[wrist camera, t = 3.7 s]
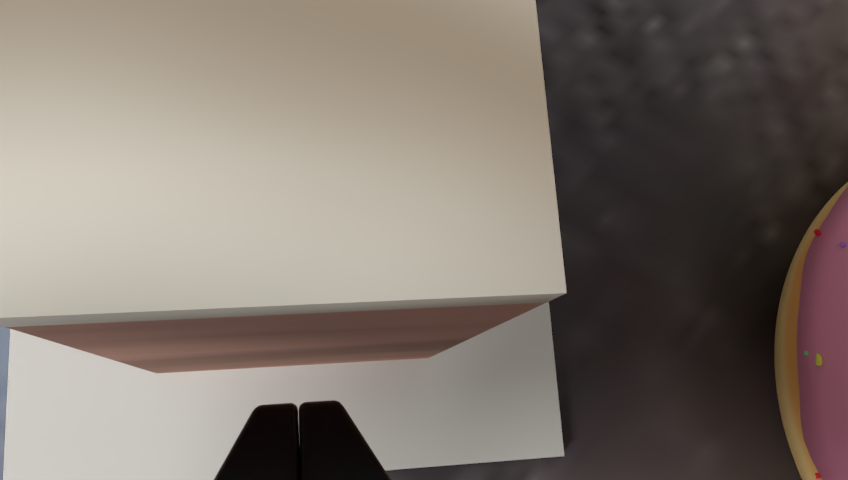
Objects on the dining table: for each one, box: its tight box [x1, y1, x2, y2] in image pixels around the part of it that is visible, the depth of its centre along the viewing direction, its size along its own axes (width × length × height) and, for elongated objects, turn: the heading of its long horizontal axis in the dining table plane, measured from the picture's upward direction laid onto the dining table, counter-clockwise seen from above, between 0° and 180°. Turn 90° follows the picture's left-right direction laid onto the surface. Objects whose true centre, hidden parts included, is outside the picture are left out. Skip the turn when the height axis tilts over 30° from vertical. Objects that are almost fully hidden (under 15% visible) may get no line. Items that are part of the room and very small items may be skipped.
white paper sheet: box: [3, 302, 564, 480], centre depth 16 cm, size 14×10×1 cm
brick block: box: [0, 0, 567, 373], centre depth 11 cm, size 5×5×8 cm
